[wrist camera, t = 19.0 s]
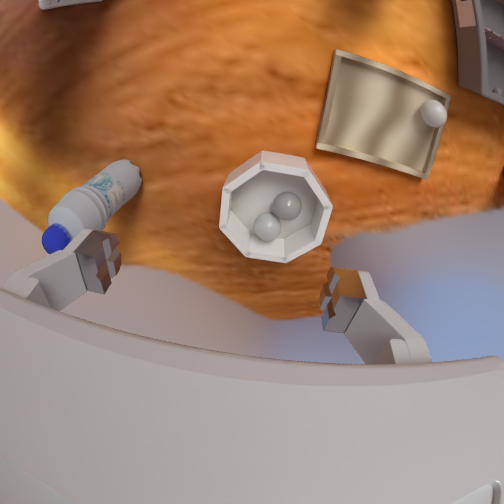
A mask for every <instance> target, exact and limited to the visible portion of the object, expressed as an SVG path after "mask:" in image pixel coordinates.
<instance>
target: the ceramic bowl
mask: <svg viewBox="0 0 504 504" xmlns="http://www.w3.org/2000/svg"><path fill="white" fill-rule="evenodd" d="M286 191H287V192H292V193H294V194H296V195H297V196H298V197H299V198H300V200H301V204H302V209H301V212H300V214H299V215H298V217H296V218H295V219H293V220H290V221H285V220H281V219H280V218H279V219H280V221H281V225H282V229H281V232H280V234H279V236H278V237H277V238H275V239H274V240H271V241H264V240H261V239H260V238H258V237H257V236H256V234H255V232H254V228H253V226H254V221H255V220H256V218H257V217H258V216H259V215H261V214H263V213H272V214H274V215H275V213H274V211H273V207H272V205H273V201H274V199H275V197H276V196H277V195H278V194H280V193H282V192H286ZM332 207H333V206H332V203H331V201H330V199H329V197H328V194H327V192H326V190H325V188H324V187H323V185H322V184H321V182H320V181H319V179H318V178H317V176H316V175H315V173H314V172H313V170H312V169H311V167H310V166H309V164H308V163H307V161H306V160H305V158H302V157H297V156H292V155H286V154H281V153H275V152H269V151H263V150H262V151H261V152H259V153H258V154H256V155H255V156H253V157H252V158H250V159H249V160H248V161H246V162H245V163H243V164H242V165H240V166H239V167H238V168H236V169H235V170H233V171H232V172H231V173H229V175H228V177H227V179H226V182H225V184H224V186H223V190H222V200H221V211H220V222H219V228H220V230H221V231H222V232H223V233H224V234H225V235H226V236H227V237H228V238H229V239H230V241H231V242H232V243H233V244H234V245H235V246H236V247H237V248H238V249H239V250H240V251H241V253H242V254H243V255H244V256H245V257H249V258H255V259H262V260H268V261H275V262H282V263H287V262H289V261H291V260H293V259H294V258H296V257H298V256H300V255H302V254H304V253H306V252H307V251H309V250H311V249H313V248H315V247H316V246H318V245H320V244H321V243H322V240H323V237H324V233H325V230H326V227H327V224H328V221H329V217H330V214H331V211H332Z"/></svg>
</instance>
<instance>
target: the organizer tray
mask: <svg viewBox="0 0 504 504" xmlns="http://www.w3.org/2000/svg"><path fill="white" fill-rule="evenodd" d="M452 4H453V10H454V17H455V25H456V35H457V47H458V86H459V87H462V88H464V89H467V90H470V91H473V92H475V93H478V94H480V95H482V96H483V97H486V98H488V99H490V100H493V101H495V102H497V103H500V104H502V105H504V0H452Z"/></svg>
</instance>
